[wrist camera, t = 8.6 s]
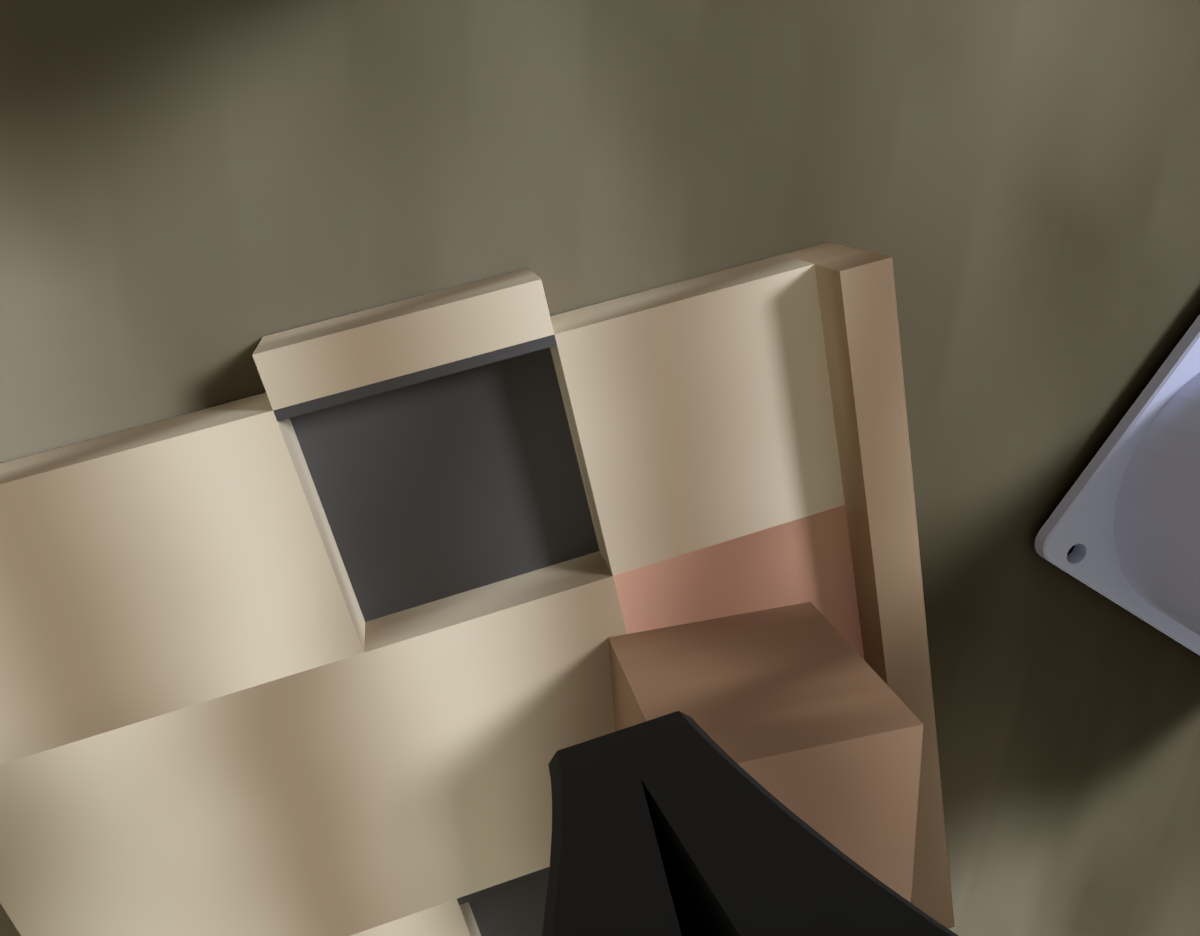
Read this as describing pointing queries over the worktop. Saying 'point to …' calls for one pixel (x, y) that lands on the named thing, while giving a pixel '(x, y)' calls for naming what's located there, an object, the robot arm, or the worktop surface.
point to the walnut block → (790, 722)
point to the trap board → (432, 594)
